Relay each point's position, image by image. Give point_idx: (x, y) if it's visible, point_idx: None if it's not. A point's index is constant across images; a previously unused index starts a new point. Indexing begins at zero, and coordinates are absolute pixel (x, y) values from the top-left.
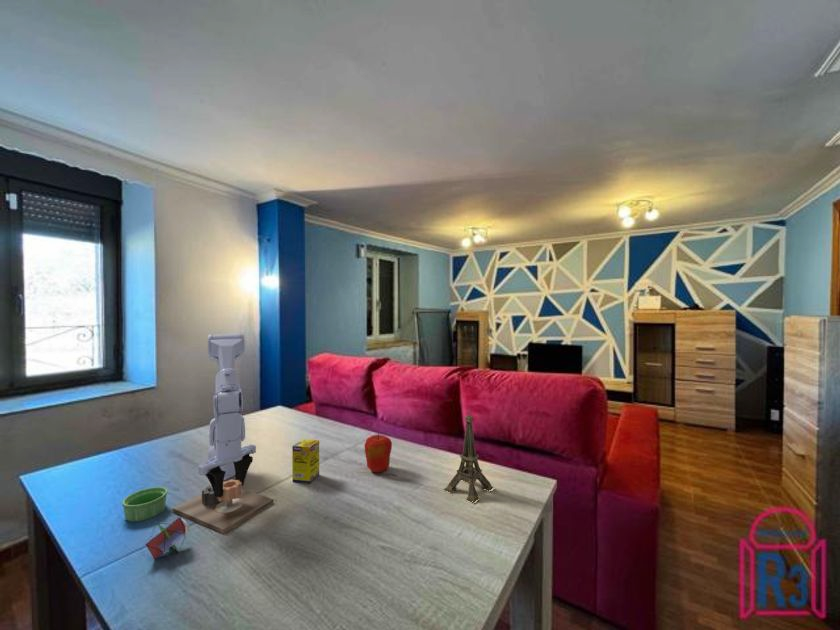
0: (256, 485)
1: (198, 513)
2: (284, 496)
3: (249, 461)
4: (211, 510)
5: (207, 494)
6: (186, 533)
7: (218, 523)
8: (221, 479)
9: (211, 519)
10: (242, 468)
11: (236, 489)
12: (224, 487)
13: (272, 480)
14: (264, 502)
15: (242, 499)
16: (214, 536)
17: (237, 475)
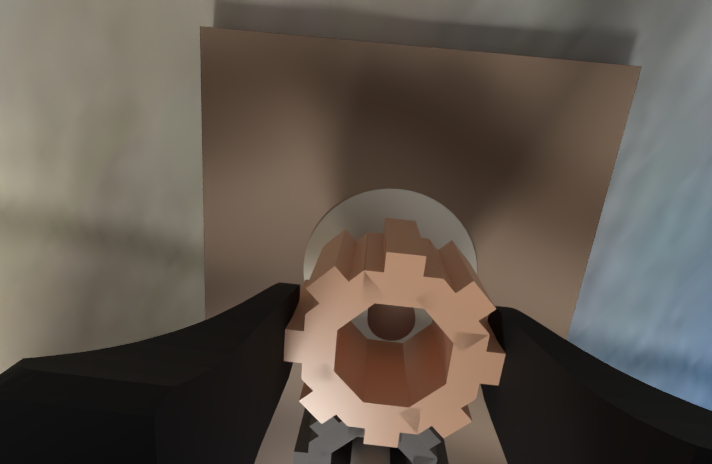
0: (115, 326)
1: None
2: (109, 20)
3: (93, 372)
4: None
5: (435, 455)
6: None
7: (583, 166)
8: (633, 399)
9: (553, 251)
10: (233, 387)
11: (407, 243)
12: (458, 355)
13: (17, 277)
14: (264, 61)
15: (299, 253)
16: (655, 106)
17: (269, 394)
